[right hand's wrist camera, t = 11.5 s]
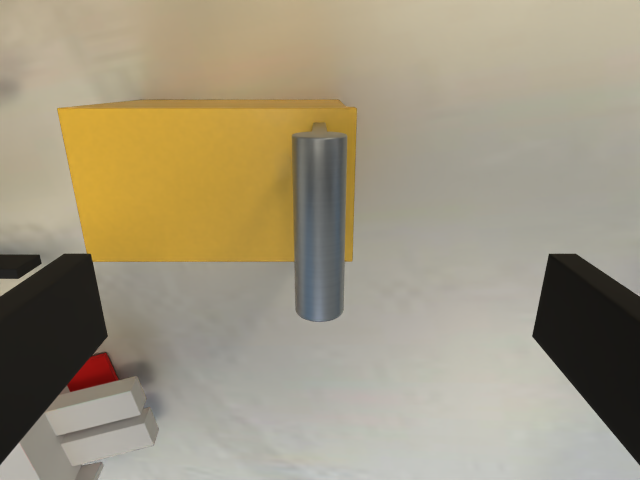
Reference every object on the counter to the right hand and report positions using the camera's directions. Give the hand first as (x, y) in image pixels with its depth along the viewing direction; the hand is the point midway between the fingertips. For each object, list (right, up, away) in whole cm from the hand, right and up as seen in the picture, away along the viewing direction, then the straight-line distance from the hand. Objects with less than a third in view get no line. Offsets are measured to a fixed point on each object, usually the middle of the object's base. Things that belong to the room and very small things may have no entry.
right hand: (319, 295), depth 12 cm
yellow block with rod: (-6, +5, +13) cm, 15 cm away
